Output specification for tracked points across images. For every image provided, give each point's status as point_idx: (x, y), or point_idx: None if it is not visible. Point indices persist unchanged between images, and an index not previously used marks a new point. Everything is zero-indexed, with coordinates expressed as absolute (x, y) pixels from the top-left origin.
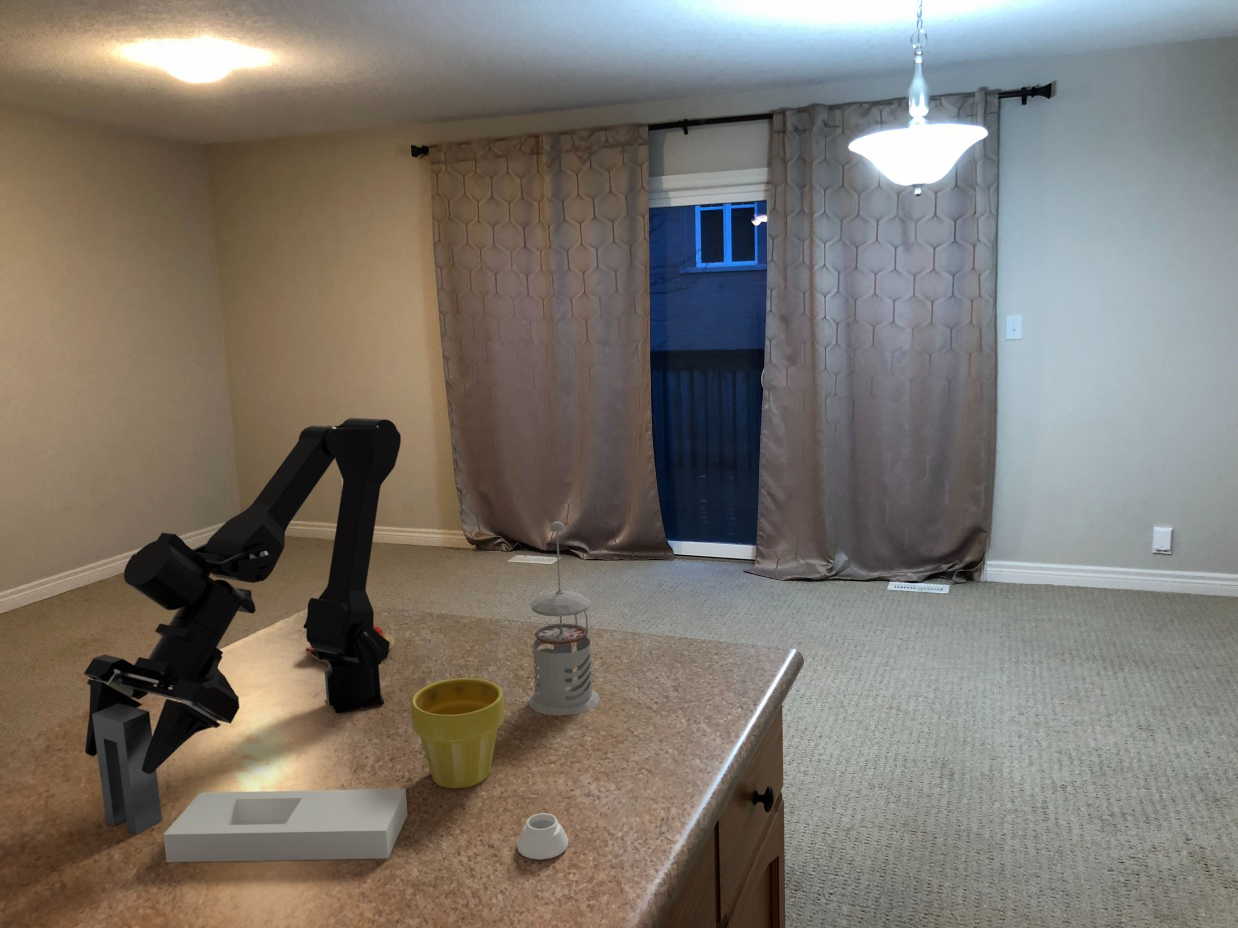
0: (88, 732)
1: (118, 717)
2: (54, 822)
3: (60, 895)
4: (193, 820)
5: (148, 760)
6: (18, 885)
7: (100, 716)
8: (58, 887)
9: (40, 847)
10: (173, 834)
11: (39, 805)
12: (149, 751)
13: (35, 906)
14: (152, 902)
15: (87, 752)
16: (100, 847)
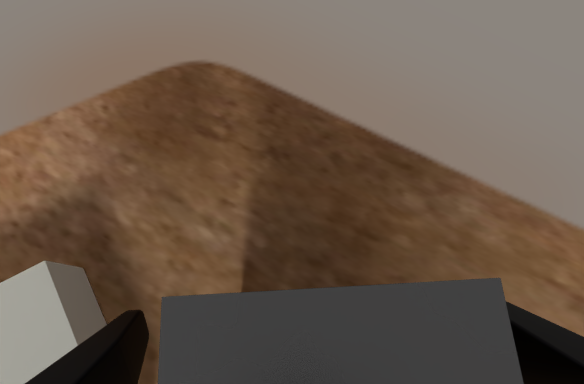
0: (541, 322)
1: (276, 336)
2: (447, 243)
3: (184, 115)
4: (18, 344)
5: (99, 332)
6: (280, 100)
7: (411, 283)
8: (210, 126)
9: (371, 179)
10: (20, 273)
11: (550, 267)
12: (86, 350)
13: (194, 83)
14: (3, 175)
15: None
16: (265, 234)
